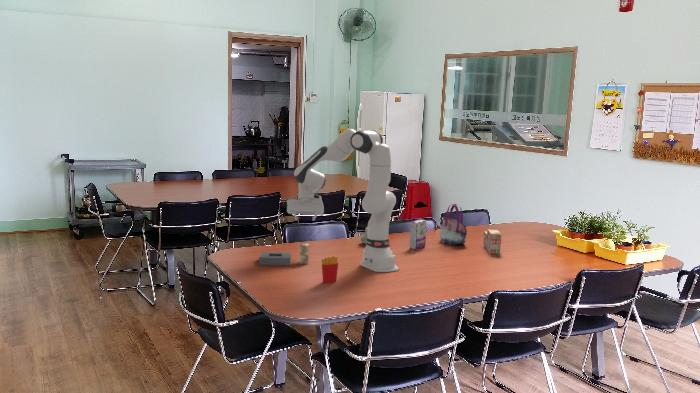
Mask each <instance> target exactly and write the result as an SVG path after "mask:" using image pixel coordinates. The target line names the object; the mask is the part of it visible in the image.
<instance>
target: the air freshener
mask: <svg viewBox="0 0 700 393" xmlns="http://www.w3.org/2000/svg"><path fill="white" fill-rule="evenodd" d="M367 233H368V226H367V227H365V229H364V234H362V235H361V237H360V242H361V243H362V244H364V245H366V246H367V244H366V238H367Z"/></svg>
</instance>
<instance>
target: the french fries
mask: <svg viewBox="0 0 700 393" xmlns="http://www.w3.org/2000/svg"><path fill="white" fill-rule="evenodd" d="M338 259H339V257H338V256H337V257H335V256H331V257H330V256H329V257H324V258H322V259H321V272H322V273H321V275H322V282H323V284H333V283H336V282H337V276H338V270H339V263H338Z"/></svg>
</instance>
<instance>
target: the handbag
mask: <svg viewBox="0 0 700 393" xmlns="http://www.w3.org/2000/svg"><path fill="white" fill-rule="evenodd" d="M458 206H459V204H458V203H451V204H450V205H449V206H448V208H447V209H446V214H445V220H444V221H442V223H441V226H440V235H439V236H440V242H441V243H443V242H444V244H446V243H448V244H447V245H450V244H451V245H450V246H457V245H458V246H459V245H465V244H466V240H467V236H468V235H467V234H468V230H467V227H466V226H465V225H464V224H463V220H464V219H463V216H464V215H463V211H462V207H461V206H459V207H458ZM454 209H455V212H456V218H457V219H453V218H452V214H453V210H454Z"/></svg>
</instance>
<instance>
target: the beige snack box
mask: <svg viewBox="0 0 700 393" xmlns="http://www.w3.org/2000/svg"><path fill="white" fill-rule="evenodd" d="M502 236H503V234H502V233H501V232H500V231H499V230H498V229H487V230H484V231H483V245H484V246H483V247H484V249H485V250H486V249H487V250H486V251H487V253H488V254H489V253H490V254H491V255H500V254H501V246H502V245H501V244H502Z"/></svg>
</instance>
